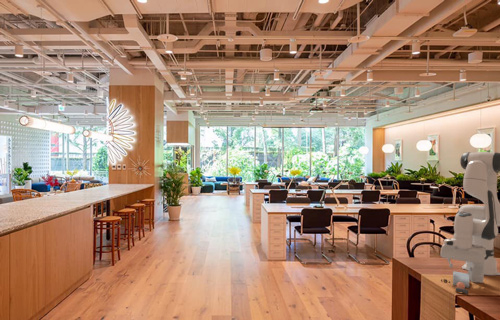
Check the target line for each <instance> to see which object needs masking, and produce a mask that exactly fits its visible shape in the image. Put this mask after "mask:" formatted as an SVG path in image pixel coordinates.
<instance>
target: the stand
mask: <svg viewBox="0 0 500 320" xmlns="http://www.w3.org/2000/svg"><path fill="white" fill-rule="evenodd" d="M444 280H445V281H444ZM440 281H441V282H443V283H445V282H446V283H445V284H447V283H450V282H451V281H450V280H448V279H445V278H443V279H442V278H441V279H440Z"/></svg>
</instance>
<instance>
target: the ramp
mask: <svg viewBox="0 0 500 320" xmlns="http://www.w3.org/2000/svg"><path fill="white" fill-rule="evenodd" d="M458 282H462V283H463V284H464V285H465V288H466V289H469V288H470V281H469V275H468V272H467V273H465V272H459V271H456V270H455V271H452V285H453V286H457V283H458Z"/></svg>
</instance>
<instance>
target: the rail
mask: <svg viewBox="0 0 500 320" xmlns="http://www.w3.org/2000/svg"><path fill="white" fill-rule="evenodd" d="M466 289H467V288H464V289H461V288H456V287H455V292H456V291H457V292H462V293H465V294H464V295H467V294H468V295H469V290H466ZM457 292H456V293H457ZM462 293H461V294H462Z"/></svg>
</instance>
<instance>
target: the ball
mask: <svg viewBox="0 0 500 320" xmlns="http://www.w3.org/2000/svg"><path fill="white" fill-rule="evenodd" d="M456 287H457V288H461V289H466V287H465V285H464V284H463V283H462V282H458V283H457V285H456Z"/></svg>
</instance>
